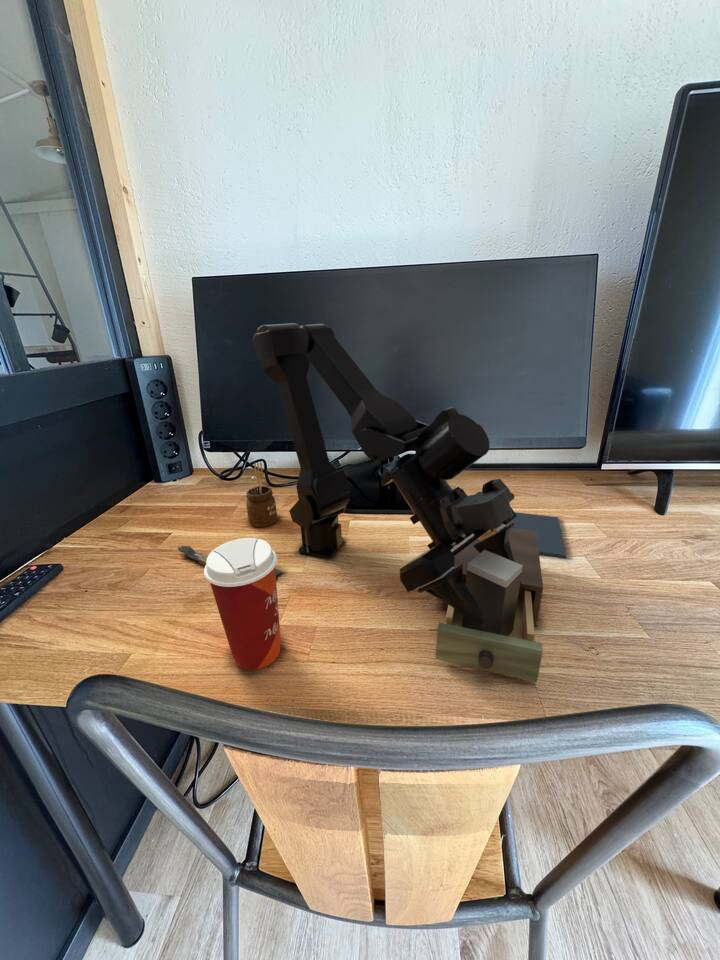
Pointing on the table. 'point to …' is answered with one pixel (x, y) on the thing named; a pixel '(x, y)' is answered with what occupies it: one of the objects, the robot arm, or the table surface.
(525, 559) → the cabinet
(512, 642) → the drawer
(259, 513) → the utensil holder
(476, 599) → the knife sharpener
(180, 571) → the table surface
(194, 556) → the tactical tomahawk
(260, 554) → the coffee cup
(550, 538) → the mat
